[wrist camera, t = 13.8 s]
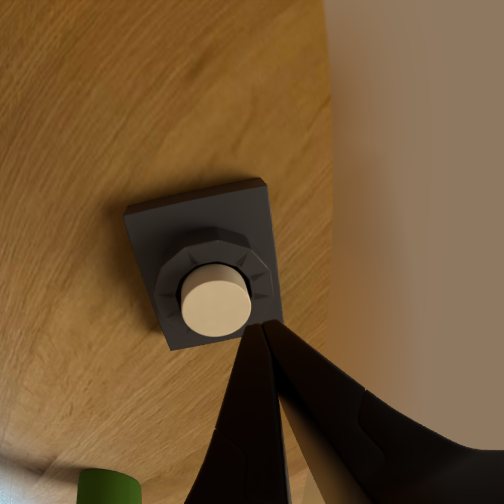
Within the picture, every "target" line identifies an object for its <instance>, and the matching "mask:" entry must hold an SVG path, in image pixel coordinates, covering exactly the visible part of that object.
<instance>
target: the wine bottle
mask: <svg viewBox="0 0 504 504" xmlns="http://www.w3.org/2000/svg"><path fill="white" fill-rule="evenodd" d="M76 504H142V498H141V486H140V484H139V482H138V481H137V480H135V479H134V478H132V477H130V476H127V475H125V474H122V473H118V472H115V471H109V470H103V469H88V470H84V471H82V472H81V474H80V475H79V481H78V491H77V503H76Z"/></svg>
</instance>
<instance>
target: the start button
mask: <svg viewBox="0 0 504 504" xmlns="http://www.w3.org/2000/svg"><path fill="white" fill-rule="evenodd" d="M181 311H182V317H183V319H184V321H185V323H186V324H187V325H188V326H189V327H190V328H191V329H192V330H193V331H195V332H197V333H199V334H201V335H205V336H211V337H218V336H224V335H228V334H230V333H233V332H235V331H236V330H238V329H239V328H241V327H242V326H243V325H244V324H245V322H246V321H247V319H248V317H249V315H250V312H251V301H250V298H249V295H248V291H247V288H246V285H245V282H244V280H243V278H242V276H241V275H240V274H239V273H238V272H237V271H236V270H234V269H233V268H230V267H228V266H225V265H221V264H209V265H205V266H202V267H199V268H197V269H195V270H194V271H193V272H191V273H190V274H189V275H188V276H187V278H186V279H185V281H184V283H183V285H182V290H181Z"/></svg>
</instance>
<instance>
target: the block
mask: <svg viewBox="0 0 504 504" xmlns="http://www.w3.org/2000/svg"><path fill="white" fill-rule="evenodd" d="M123 219H124V222H125V226H126V229H127V232H128V235H129V239H130V242H131V245H132V248H133V251H134V254H135V257H136V260H137V263H138V266H139V269H140V272H141V275H142V278H143V281H144V283H145V286H146V289H147V292H148V294H149V297H150V300H151V303H152V305H153V308H154V311H155V313H156V316H157V318H158V321H159V323H160V326H161V329H162V331H163V334H164V336H165V338H166V341H167V343H168V346H169V348H170V350H171V351H173V350H179V349H184V348H190V347H195V346H200V345H205V344H210V343H215V342H220V341H225V340H229V339H234V338H239V337H242V334H243V331H244V328H245V326H247V325H251V324H255V323H260V324H262V322H264V321H268V320H273V319H277V320H279V321H280V322H281V323H283V324H284V321H283V312H282V302H281V293H280V284H279V276H278V267H277V258H276V250H275V242H274V233H273V225H272V217H271V209H270V201H269V193H268V186H267V184H266V183H265V182H264V181H263V180H262V179H261V178H258V179H252V180H247V181H241V182H236V183H231V184H226V185H221V186H216V187H211V188H206V189H201V190H196V191H192V192H187V193H182V194H178V195H173V196H169V197H164V198H160V199H156V200H151V201H147V202H143V203H139V204H135V205H131V206H128V207H127V209H126V211H125V213H124V215H123ZM209 264H221V265H225V266H228V267H230V268H233V269H234V270H236V271H237V272H238V273H239V274H240V275H241V276H242V278H243V280H244V282H245V285H246V288H247V291H248V295H249V298H250V301H251V312H250V315H249V317H248V319H247V321H246V322H245V324H244V325H243V326H242V327H241V328H239V329H238V330H236V331H235V332H233V333H230V334H228V335H224V336H218V337H211V336H205V335H201V334H199V333H197V332H195V331H193V330H192V329H191V328H190V327H189V326H188V325H187V324H186V323H185V321H184V319H183V317H182V311H181V290H182V285H183V283H184V281H185V279H186V278H187V276H188V275H189V274H190V273H191V272H193V271H194V270H195V269H197V268H199V267H202V266H205V265H209Z"/></svg>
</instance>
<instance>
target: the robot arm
mask: <svg viewBox="0 0 504 504" xmlns="http://www.w3.org/2000/svg"><path fill="white" fill-rule="evenodd" d="M278 397H279V398H278ZM279 400H280V403H281V405H282V408H283V410H284V412H285V415H286V417H287V419H288V421H289V424H290V426H291V428H292V431H293V433H294V435H295V437H296V440H297V442H298V444H299V446H300V449H301V451H302V453H303V455H304V458H305V460H306V462H307V464H308V466H309V469H310V471H311V473H312V475H313V477H314V480H315V482H316V484H317V486H318V488H319V490H320V493H321V495H322V497H323V499H324V501H325V503H326V504H504V450H479V449H473V448H469V447H465V446H463V445H460V444H457V443H455V442H453V441H451V440H449V439H447V438H445V437H443V436H441V435H440V434H438V433H436V432H434V431H432V430H430V429H428V428H426V427H425V426H423V425H421V424H419V423H417V422H415V421H414V420H412V419H410V418H408V417H407V416H405V415H403V414H401V413H400V412H398V411H396V410H395V409H393V408H392V407H390V406H389V405H387V404H386V403H384V402H383V401H382V400H380V399H379V398H377V397H376V396H375V395H374V394H372V393H371V392H370V391H368V390H365V388H364V387H363V386H362V385H360V384H359V383H357V382H356V381H355V380H354V379H352V378H351V377H350V376H349V375H347V374H346V373H345V372H343V371H342V370H341V369H339V368H338V367H337V366H336V365H334V364H333V363H332V362H330V361H329V360H328V359H327V358H325V357H324V356H323V355H322V354H320V353H319V352H318V351H316V350H315V349H314V348H313V347H311V346H310V345H309V344H308V343H306V342H305V341H304V340H303V339H301V338H300V337H299V336H297V335H296V334H295V333H294V332H292V331H291V330H290V329H289V328H287V327H286V326H285V325H284V324H283V323H281V322H280V321H279V320H277V319H273V320H268V321H264V322H262V324H260V323H255V324H251V325H247V326H245V328H244V331H243V334H242V338H241V341H240V344H239V348H238V351H237V355H236V358H235V362H234V365H233V368H232V372H231V375H230V379H229V382H228V385H227V389H226V392H225V395H224V399H223V402H222V406H221V409H220V412H219V416H218V419H217V422H216V426H215V428H216V429H215V430H214V432H213V435H212V438H211V442H210V445H209V447H208V450H207V453H206V456H205V459H204V462H203V464H202V466H201V469H200V471H199V473H198V475H197V478H196V480H195V482H194V484H193V486H192V488H191V490H190V492H189V494H188V496H187V498H186V500H185V502H184V504H292V501H291V493H290V484H289V476H288V468H287V460H286V452H285V444H284V436H283V428H282V420H281V412H280V405H279Z"/></svg>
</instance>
